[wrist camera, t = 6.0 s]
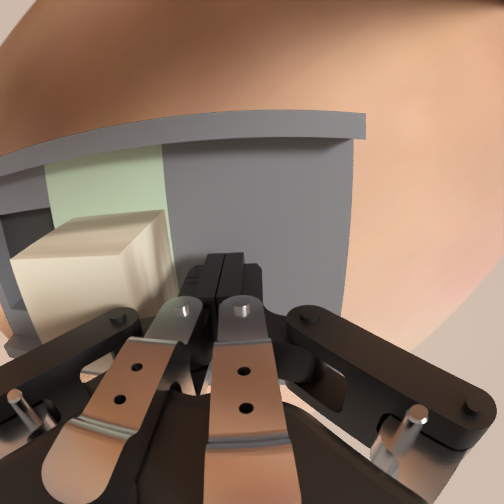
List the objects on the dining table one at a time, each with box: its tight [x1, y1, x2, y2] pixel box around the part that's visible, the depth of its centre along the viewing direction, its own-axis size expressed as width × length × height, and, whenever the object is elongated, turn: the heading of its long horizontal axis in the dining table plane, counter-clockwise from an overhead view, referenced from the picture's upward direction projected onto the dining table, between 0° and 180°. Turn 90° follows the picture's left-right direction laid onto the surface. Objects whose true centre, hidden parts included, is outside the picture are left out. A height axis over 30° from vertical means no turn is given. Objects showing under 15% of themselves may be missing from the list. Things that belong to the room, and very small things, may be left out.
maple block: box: [10, 209, 178, 373], centre depth 12 cm, size 5×5×5 cm
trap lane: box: [0, 110, 366, 385], centre depth 14 cm, size 13×22×4 cm, turn 92°
